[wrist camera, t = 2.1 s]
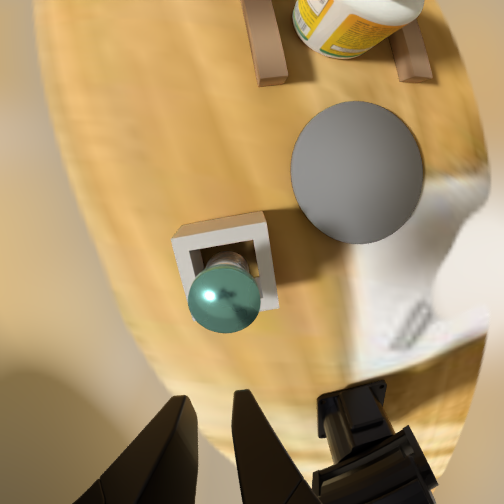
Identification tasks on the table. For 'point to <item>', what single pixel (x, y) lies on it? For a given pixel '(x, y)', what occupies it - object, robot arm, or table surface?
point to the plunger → (224, 294)
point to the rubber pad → (356, 172)
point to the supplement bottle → (350, 23)
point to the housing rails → (273, 60)
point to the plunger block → (223, 233)
